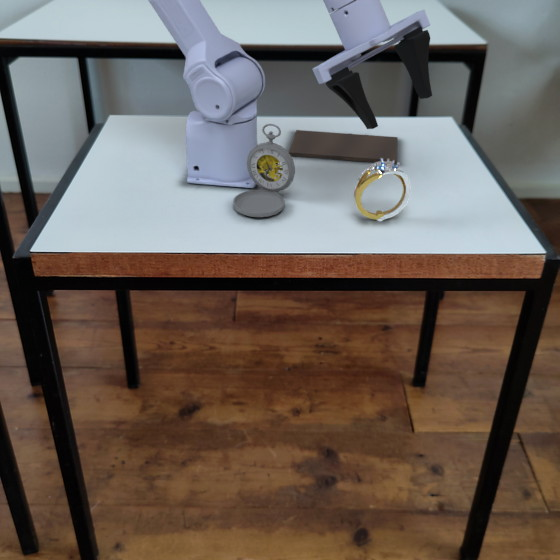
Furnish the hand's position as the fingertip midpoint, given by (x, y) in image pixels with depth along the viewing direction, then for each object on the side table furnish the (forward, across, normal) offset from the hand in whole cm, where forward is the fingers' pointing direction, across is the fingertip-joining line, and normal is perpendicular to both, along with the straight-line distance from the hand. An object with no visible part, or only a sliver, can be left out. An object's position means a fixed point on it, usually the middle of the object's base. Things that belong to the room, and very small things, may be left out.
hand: (399, 112), depth 82 cm
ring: (+11, -7, +3) cm, 14 cm away
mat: (+5, -1, +24) cm, 24 cm away
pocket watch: (+4, -18, +10) cm, 21 cm away
